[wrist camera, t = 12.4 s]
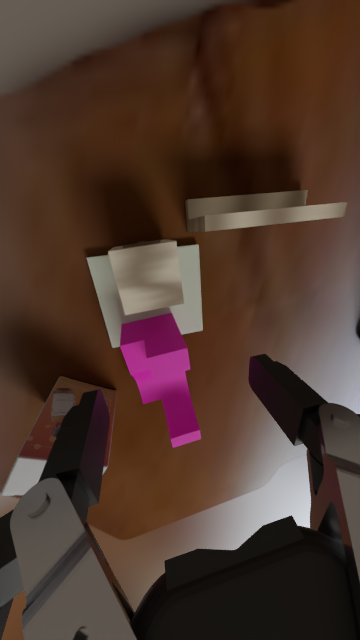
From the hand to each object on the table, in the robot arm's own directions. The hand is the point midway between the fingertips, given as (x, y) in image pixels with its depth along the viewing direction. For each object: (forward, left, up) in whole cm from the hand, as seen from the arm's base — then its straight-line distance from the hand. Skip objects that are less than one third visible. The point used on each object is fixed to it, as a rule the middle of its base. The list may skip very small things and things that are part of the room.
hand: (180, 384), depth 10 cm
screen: (-12, -8, -15) cm, 21 cm away
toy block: (+1, +9, -15) cm, 18 cm away
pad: (0, 0, -15) cm, 15 cm away
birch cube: (0, -1, -12) cm, 12 cm away
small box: (+12, +13, -16) cm, 23 cm away
